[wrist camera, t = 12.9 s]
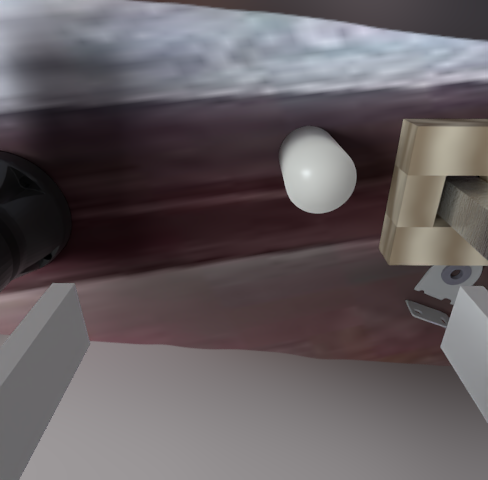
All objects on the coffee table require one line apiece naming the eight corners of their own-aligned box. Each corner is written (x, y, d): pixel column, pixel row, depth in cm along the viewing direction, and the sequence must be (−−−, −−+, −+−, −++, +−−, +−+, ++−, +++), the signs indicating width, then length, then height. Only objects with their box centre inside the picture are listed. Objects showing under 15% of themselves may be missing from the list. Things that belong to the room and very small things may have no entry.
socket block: (378, 248, 48) (388, 265, 44) (403, 118, 40) (418, 126, 37) (489, 249, 48) (508, 265, 44) (534, 119, 40) (562, 126, 37)
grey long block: (428, 205, 45) (495, 267, 33) (436, 173, 43) (510, 226, 31) (461, 205, 45) (541, 268, 33) (471, 173, 43) (559, 226, 31)
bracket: (489, 258, 49) (505, 272, 46) (442, 314, 53) (454, 331, 50) (447, 241, 48) (460, 255, 45) (403, 300, 52) (412, 316, 49)
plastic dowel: (279, 184, 44) (285, 214, 36) (278, 127, 41) (285, 147, 33) (334, 181, 44) (353, 211, 36) (338, 124, 41) (359, 143, 33)
